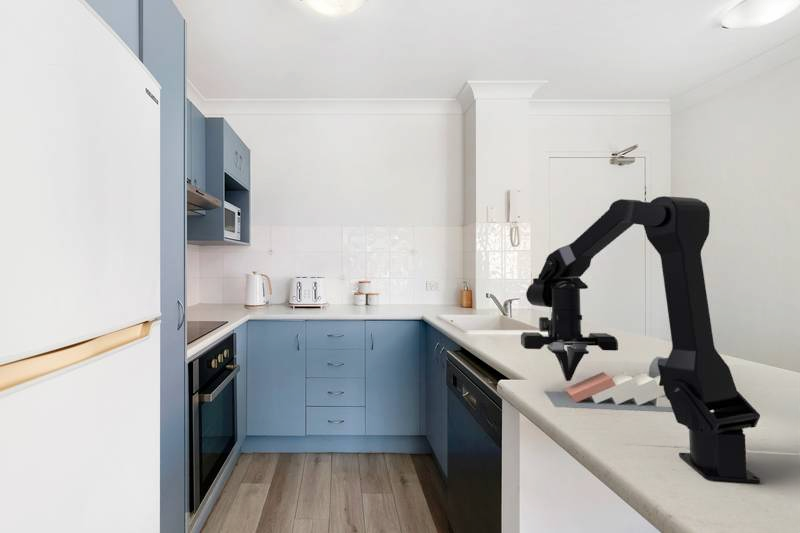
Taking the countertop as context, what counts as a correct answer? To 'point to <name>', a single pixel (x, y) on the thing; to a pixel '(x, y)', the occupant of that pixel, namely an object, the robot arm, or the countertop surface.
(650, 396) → the domino
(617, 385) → the domino
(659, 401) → the domino
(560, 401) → the slate mat
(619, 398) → the domino
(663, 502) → the countertop surface
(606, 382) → the domino
